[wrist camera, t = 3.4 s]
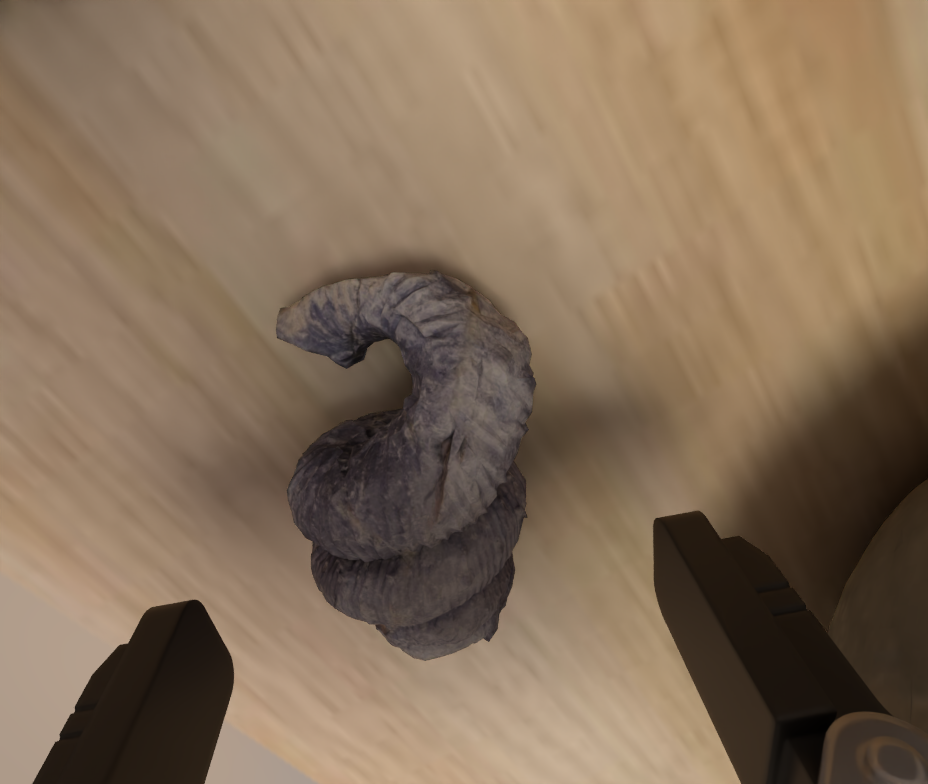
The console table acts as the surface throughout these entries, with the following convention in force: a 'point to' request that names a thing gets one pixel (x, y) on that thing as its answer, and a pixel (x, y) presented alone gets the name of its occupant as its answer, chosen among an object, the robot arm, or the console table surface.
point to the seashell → (417, 461)
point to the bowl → (891, 612)
